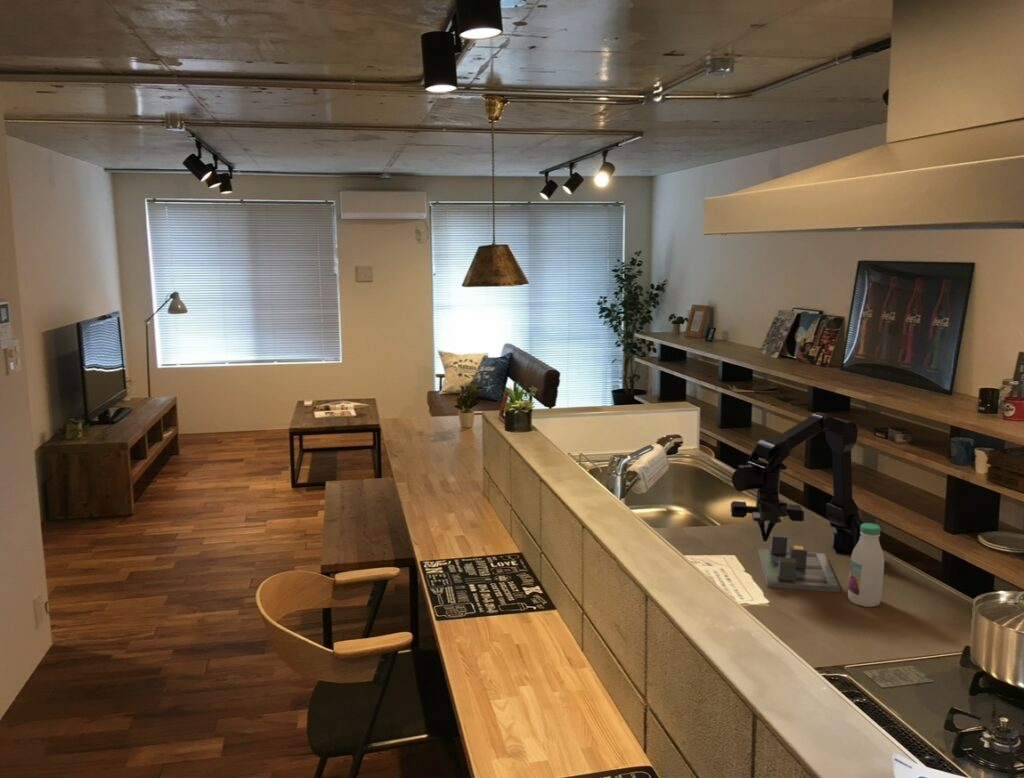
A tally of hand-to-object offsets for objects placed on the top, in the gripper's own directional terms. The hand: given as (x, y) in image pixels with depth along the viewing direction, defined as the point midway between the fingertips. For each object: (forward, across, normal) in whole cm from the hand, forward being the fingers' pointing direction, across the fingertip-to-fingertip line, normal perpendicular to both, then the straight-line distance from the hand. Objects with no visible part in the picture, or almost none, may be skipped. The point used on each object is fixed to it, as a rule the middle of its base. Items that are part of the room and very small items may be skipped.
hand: (764, 540), depth 230 cm
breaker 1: (+6, +5, +9) cm, 12 cm away
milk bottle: (+8, +23, -16) cm, 29 cm away
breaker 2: (+6, +5, -9) cm, 12 cm away
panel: (+8, +9, -1) cm, 12 cm away
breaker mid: (+6, +9, 0) cm, 11 cm away
